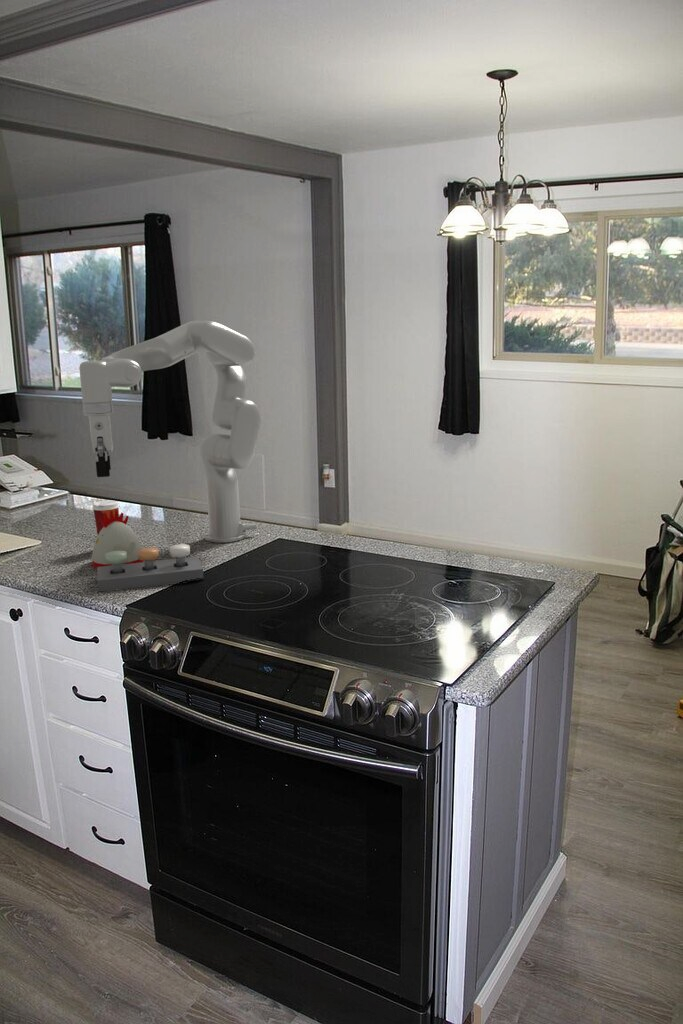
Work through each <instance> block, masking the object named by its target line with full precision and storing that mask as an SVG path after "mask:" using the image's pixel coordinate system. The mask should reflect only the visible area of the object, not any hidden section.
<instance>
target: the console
mask: <svg viewBox="0 0 683 1024" xmlns="http://www.w3.org/2000/svg"><path fill="white" fill-rule="evenodd" d="M185 564H186V565H185V566H183V567H177V566H176V558H172V559H170V558H169V559H162V560H160V559H159V560H154V569H153V570H145V565H144V562H141V563H132V564H122V571H123V572H122V573H117V574H114V573H113V568H112V566H103V567H97V568H96V569H97V570H96V571H97V572H96V573H97V574H96V575H97V587H98V592H99V591H103V592H108V591H107V590H112V591H117V590H116V589H121V590H128V588H130V589H137V588H139V589H140V588H145V587H155V586H165V585H172V584H179V583H178V582H182V581H185V580H190V579H196V578H204V568H203V566H202V563H201V561H200V558H199V556H191V557H189V556H188V557H185Z"/></svg>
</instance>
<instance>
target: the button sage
mask: <svg viewBox="0 0 683 1024" xmlns="http://www.w3.org/2000/svg"><path fill="white" fill-rule="evenodd" d="M105 555H106V563H108V564H112V568H113V573H114V574H117V573H122V572H123V571H122V563H123V562H126V561H127V553H126V551H111V552H108V553H106V554H105Z"/></svg>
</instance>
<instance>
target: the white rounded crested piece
mask: <svg viewBox="0 0 683 1024" xmlns="http://www.w3.org/2000/svg"><path fill="white" fill-rule="evenodd" d="M129 517H130V516H128V515H126V517H125V519H124V512H121V513H119V514H118V511H117V510H115V516H113V512H112V511H110V517H109V519H108V517H107V514H106V513H105V512H104V520H102V519H101V518H99V519H100V521H101V523H102V524H103V526H104V527H103V528H102V530H101V531H100V532H99V534H97V536H96V538H95V541H94V545H93V550H92V554H91V563H92V567H93V568H95V569H97V567H103V566H112V564H108V563H106V555H105V554H106V553H108V552H111V551H126V553H127V561H126V562H123V563H122V564H132V563H141V562H144V561H143V560H139V559H138V550H139V549H142V548H143V547H142V544H141V542H140V540H139V537H138V536H137V534H136V533H135V532H134V530H133V529H132V528H131V527H130V526H129V525H128V521H129Z"/></svg>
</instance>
